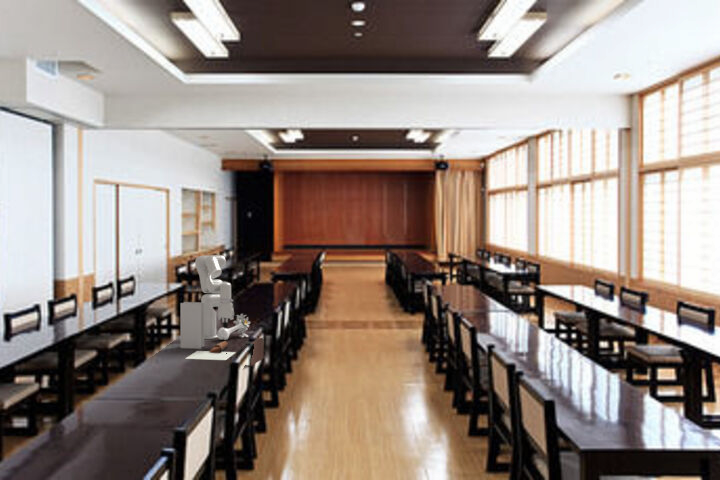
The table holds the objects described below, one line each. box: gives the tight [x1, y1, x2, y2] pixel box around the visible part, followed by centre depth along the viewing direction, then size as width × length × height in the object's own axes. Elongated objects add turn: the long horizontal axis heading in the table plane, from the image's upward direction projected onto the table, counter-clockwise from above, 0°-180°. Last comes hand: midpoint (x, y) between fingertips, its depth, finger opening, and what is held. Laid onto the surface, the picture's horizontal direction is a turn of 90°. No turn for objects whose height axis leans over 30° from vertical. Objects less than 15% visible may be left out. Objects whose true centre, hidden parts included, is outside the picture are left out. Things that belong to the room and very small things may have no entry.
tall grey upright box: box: [179, 301, 205, 350], centre depth 372 cm, size 14×6×30 cm, turn 84°
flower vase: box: [216, 313, 251, 341], centre depth 402 cm, size 13×18×25 cm
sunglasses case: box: [208, 340, 229, 353], centre depth 367 cm, size 18×7×7 cm
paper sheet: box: [184, 350, 237, 361], centre depth 352 cm, size 20×26×1 cm
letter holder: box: [235, 337, 265, 367], centre depth 338 cm, size 10×20×14 cm, turn 168°
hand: (225, 328), depth 378 cm, fingers closed
